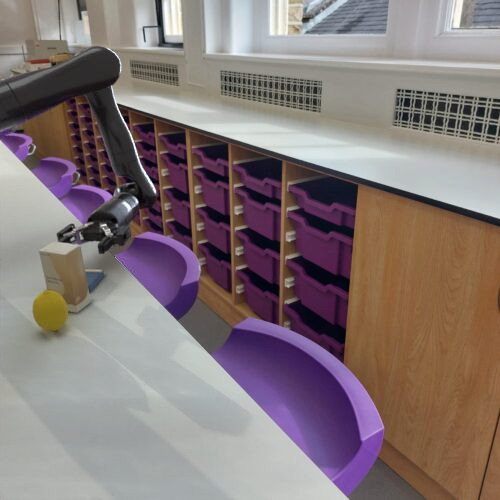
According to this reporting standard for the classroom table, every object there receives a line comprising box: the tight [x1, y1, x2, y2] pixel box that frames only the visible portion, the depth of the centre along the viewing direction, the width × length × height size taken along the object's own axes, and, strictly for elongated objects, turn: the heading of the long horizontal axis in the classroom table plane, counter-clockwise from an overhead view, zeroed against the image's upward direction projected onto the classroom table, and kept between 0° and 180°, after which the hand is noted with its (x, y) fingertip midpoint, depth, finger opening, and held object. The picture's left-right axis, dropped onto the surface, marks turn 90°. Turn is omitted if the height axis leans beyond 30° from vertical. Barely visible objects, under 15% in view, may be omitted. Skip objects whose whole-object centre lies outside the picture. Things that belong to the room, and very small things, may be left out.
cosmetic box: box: [38, 241, 92, 314], centre depth 90 cm, size 6×4×12 cm
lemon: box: [32, 289, 69, 332], centre depth 83 cm, size 6×6×8 cm
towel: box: [85, 269, 105, 293], centre depth 101 cm, size 9×7×2 cm
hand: (79, 249), depth 95 cm, fingers open, 8 cm apart
